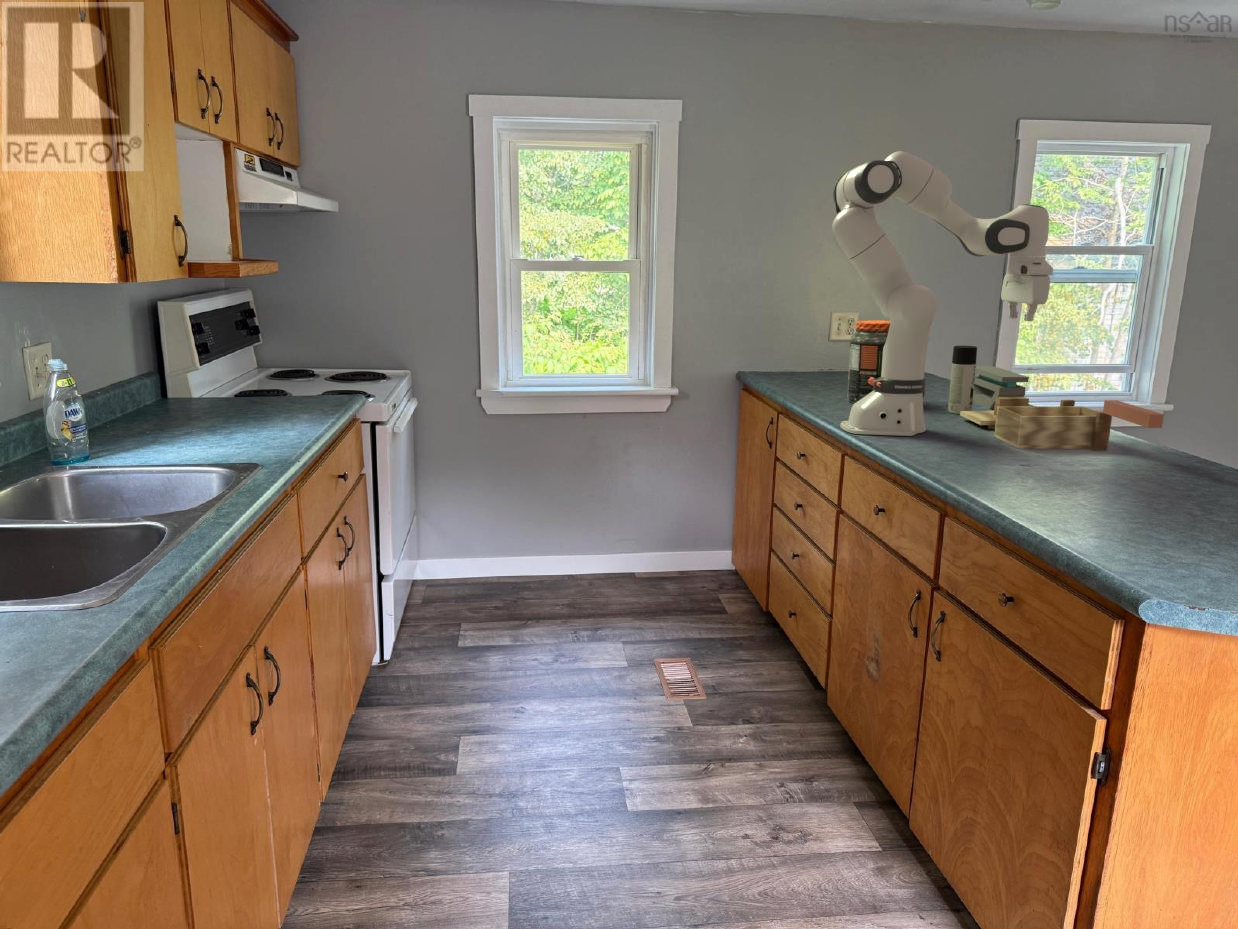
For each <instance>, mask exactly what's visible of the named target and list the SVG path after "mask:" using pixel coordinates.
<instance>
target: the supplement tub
mask: <svg viewBox="0 0 1238 929" xmlns="http://www.w3.org/2000/svg"><path fill="white" fill-rule="evenodd" d="M889 327H890V321H889V320H881V319H880V320H878V319H877V320H876V319H874V320H872V319H869V320H857V321H856V324H855V331H854V333H853V334H852V335H851V337H850V340H849V358H848V359H849V360H848V379H847V399H848V401H849V402H851V403H853V404H855V403H856V402H858V401H859V400H861V399H862V398H863V397H865V396H866V395H868V394H869V393H871V392H872V391H873V385H871V384H869V383H868V381H870V380H868V379H870V378H871V377H873V378H875V379H878V378H879V377H881V372H882V358H883V348H884V345H885V343H886V340H887V336H888V332H889Z"/></svg>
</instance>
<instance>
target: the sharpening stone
mask: <svg viewBox="0 0 1238 929" xmlns="http://www.w3.org/2000/svg"><path fill="white" fill-rule="evenodd" d="M975 374H976V375H978V376H975V380H974V391H973V402H974V404H977V405H979V406H981V407H984V408H986V409H989V410H994V407H995V398H996V397H1025V396H1026V389H1027V387H1026V386H1022V385H1020V384H1018V383H1029V382H1030V381H1029V380H1030V379H1029V378H1030V376H1027V375H1023V374H1022V373H1021V374H1020V373H1016V372H1014V371H1010V370H1006V369H1003V368H1001V367H998V366H994V365H976V370H975Z"/></svg>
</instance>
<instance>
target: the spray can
mask: <svg viewBox="0 0 1238 929" xmlns="http://www.w3.org/2000/svg"><path fill="white" fill-rule="evenodd" d="M977 353H978V347H977V346H976V345H954V346H953V350H952V358H951V360H952V361H951V371H950V372H951V373H950V381H949V382H950V384H949V396H948V406H947V407H948V408H947V411H948V412H947V413H950V414H953V415H960V411H973V410H972V409H973V402H974V399H973V391H974V380H975V377H976V373H975V370H976V366H977V357H978V356H977V355H978V354H977Z"/></svg>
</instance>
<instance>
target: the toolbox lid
mask: <svg viewBox="0 0 1238 929" xmlns="http://www.w3.org/2000/svg"><path fill="white" fill-rule="evenodd" d="M1029 403H1030V398H1029V397H1025V396H1024V397H996V398H995V407H994V409H993V410H972V411H960V414H959V416H961V417H963V418H965V419H967V420H969V421H971V422H973V423H974V424H978V425H979V426H987V428H988V429H991V430H992V429H994V430H995V425H996V415H997V407H1029Z"/></svg>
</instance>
